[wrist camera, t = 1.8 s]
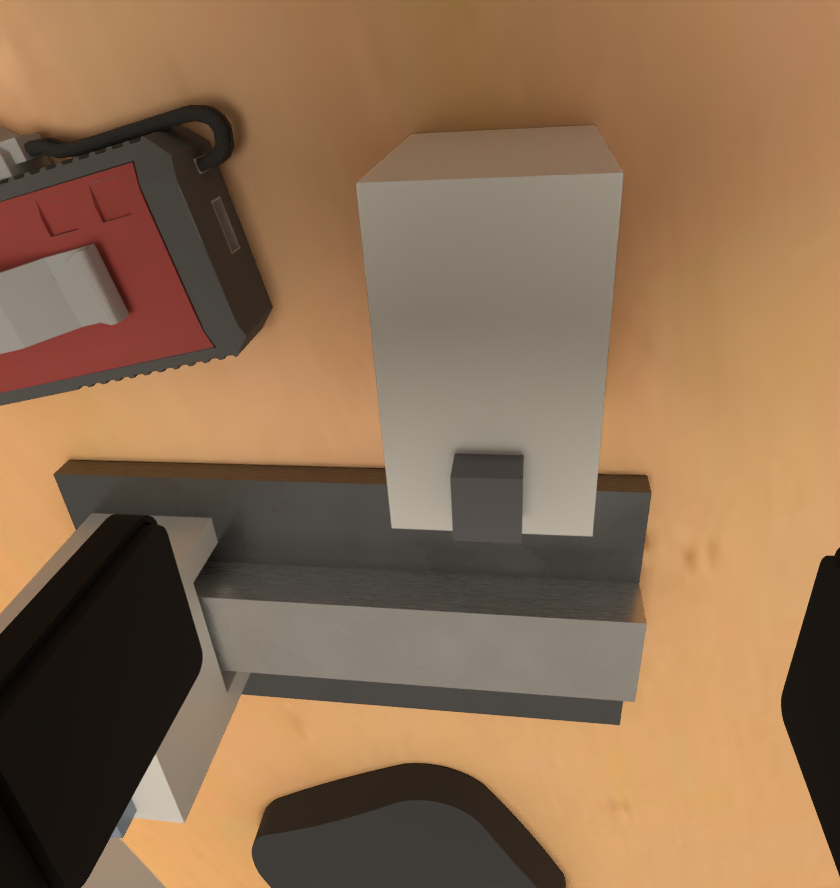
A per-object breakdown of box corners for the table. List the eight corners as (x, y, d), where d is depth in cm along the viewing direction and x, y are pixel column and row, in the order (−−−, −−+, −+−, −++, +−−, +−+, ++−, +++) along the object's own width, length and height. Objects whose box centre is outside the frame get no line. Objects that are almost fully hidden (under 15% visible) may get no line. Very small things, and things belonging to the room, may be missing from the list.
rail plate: (68, 460, 27) (20, 505, 25) (647, 476, 24) (660, 529, 21) (148, 669, 33) (117, 722, 31) (617, 705, 30) (624, 768, 27)
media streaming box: (455, 740, 33) (448, 799, 31) (590, 894, 39) (594, 955, 36) (237, 801, 39) (217, 855, 37) (381, 928, 44) (372, 982, 42)
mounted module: (91, 513, 27) (-57, 676, 20) (211, 517, 26) (99, 689, 19) (148, 660, 31) (41, 835, 25) (252, 668, 31) (171, 851, 24)
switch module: (411, 133, 19) (343, 194, 12) (595, 124, 18) (630, 183, 12) (428, 406, 24) (385, 559, 17) (577, 408, 23) (595, 570, 16)
